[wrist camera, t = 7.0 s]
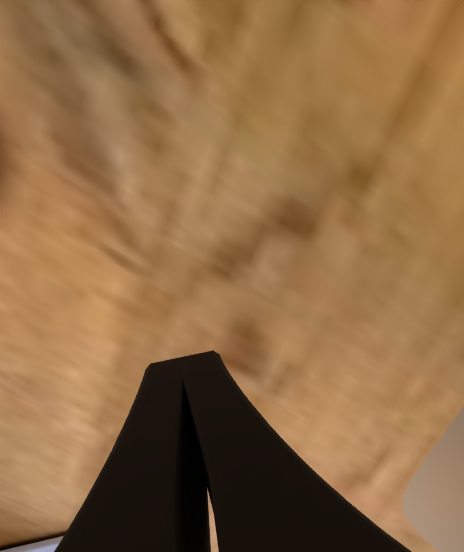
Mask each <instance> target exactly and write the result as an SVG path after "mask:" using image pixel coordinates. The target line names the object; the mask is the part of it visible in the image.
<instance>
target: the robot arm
mask: <svg viewBox="0 0 464 552" xmlns="http://www.w3.org/2000/svg"><path fill="white" fill-rule="evenodd" d="M207 488H208V492H209V496H210V500H211V504H212V508H213V512H214V518H215V526H216V533H217V540H218V548H219V552H411V551H410V550H409V549H407V548H406V547H405V546H403V545H402V544H401V543H399V542H398V541H397V540H395V539H394V538H393V537H391V536H390V535H389V534H387V533H386V532H385V531H383V530H382V529H381V528H379V527H378V526H377V525H376V524H374V523H373V522H372V521H371V520H370V519H368V518H367V517H366V516H365V515H364V514H362V513H361V512H360V511H359V510H358V509H356V508H355V507H354V506H353V505H352V504H350V503H349V502H348V501H347V500H346V499H345V498H343V497H342V496H341V495H340V494H339V493H338V492H337V491H336V490H334V489H333V488H332V487H331V486H330V485H329V484H328V483H327V482H326V481H324V480H323V479H322V478H321V477H320V476H319V475H318V474H317V473H316V472H315V471H314V470H313V469H312V468H311V467H309V466H308V465H307V464H306V463H305V462H304V461H303V460H302V459H301V458H300V457H299V456H298V455H297V454H296V453H295V452H294V451H293V449H292V448H291V447H290V446H289V445H288V444H287V443H286V442H285V441H284V440H283V439H282V438H281V437H280V436H279V435H278V434H277V433H276V431H275V430H274V429H273V428H272V427H271V426H270V425H269V424H268V423H267V421H266V420H265V419H264V418H263V417H262V415H261V414H260V413H259V412H258V411H257V409H256V408H255V407H254V406H253V405H252V403H251V402H250V401H249V400H248V398H247V397H246V396H245V395H244V393H243V392H242V391H241V389H240V388H239V386H238V385H237V384H236V382H235V381H234V379H233V378H232V376H231V375H230V373H229V372H228V370H227V368H226V367H225V365H224V363H223V361H222V359H221V357H220V355H219V354H218V353H216V352H215V351H208V352H204V353H199V354H194V355H189V356H185V357H180V358H175V359H170V360H166V361H161V362H156V363H151V364H150V365H149V366H148V367H147V369H146V370H145V373H144V376H143V379H142V382H141V385H140V388H139V390H138V393H137V395H136V398H135V400H134V403H133V405H132V407H131V410H130V412H129V415H128V417H127V419H126V421H125V423H124V426H123V428H122V430H121V432H120V434H119V436H118V438H117V440H116V443H115V445H114V447H113V449H112V451H111V453H110V455H109V457H108V459H107V461H106V463H105V465H104V466H103V468H102V470H101V472H100V474H99V476H98V477H97V479H96V481H95V483H94V485H93V487H92V489H91V490H90V492H89V494H88V496H87V498H86V500H85V501H84V503H83V505H82V507H81V508H80V510H79V512H78V513H77V515H76V517H75V518H74V520H73V522H72V524H71V525H70V527H69V528H68V530H67V532H66V533H65V535H64V536H61V537H57V538H52V539H48V540H44V541H40V542H35V543H31V544H27V545H23V546H19V547H14V548H10V549H6V550H2V551H0V552H211V546H210V528H209V511H208V494H207Z"/></svg>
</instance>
